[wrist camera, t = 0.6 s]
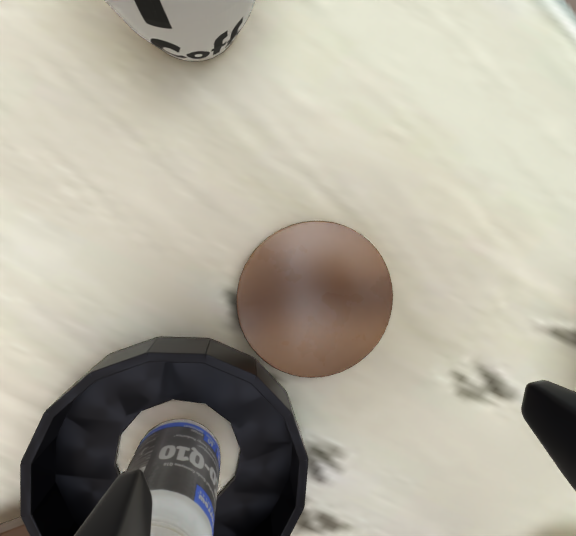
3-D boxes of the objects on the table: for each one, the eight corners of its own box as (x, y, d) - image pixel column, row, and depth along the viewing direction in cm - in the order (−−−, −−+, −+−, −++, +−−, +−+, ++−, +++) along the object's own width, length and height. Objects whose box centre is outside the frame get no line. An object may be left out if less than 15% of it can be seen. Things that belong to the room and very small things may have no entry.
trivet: (406, 343, 22) (410, 346, 21) (266, 396, 21) (266, 400, 20) (365, 200, 20) (368, 199, 20) (214, 250, 20) (213, 251, 19)
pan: (328, 510, 22) (339, 547, 20) (-32, 658, 20) (-71, 720, 18) (255, 302, 20) (257, 313, 18) (-152, 445, 18) (-216, 480, 16)
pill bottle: (237, 446, 21) (235, 587, 13) (186, 507, 21) (150, 688, 13) (172, 400, 20) (124, 519, 12) (118, 464, 20) (33, 627, 12)
